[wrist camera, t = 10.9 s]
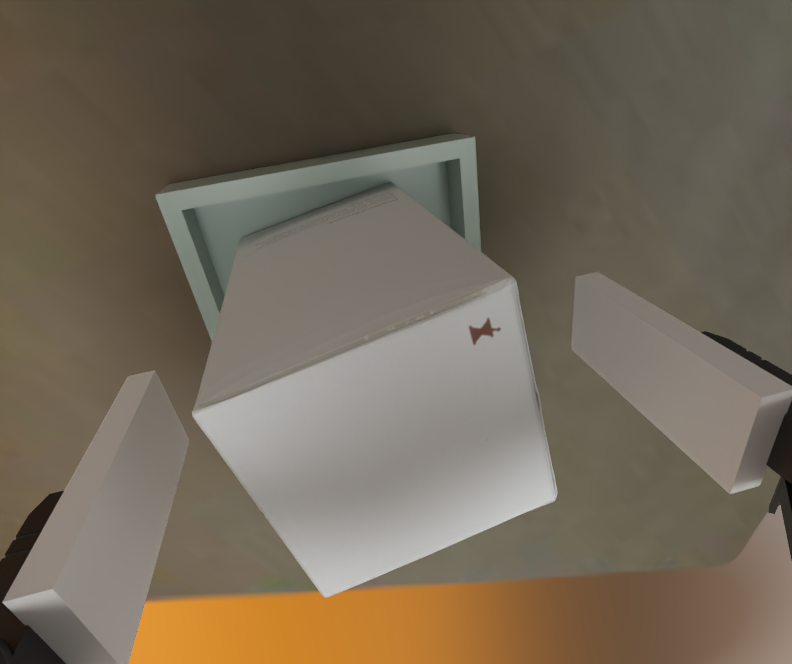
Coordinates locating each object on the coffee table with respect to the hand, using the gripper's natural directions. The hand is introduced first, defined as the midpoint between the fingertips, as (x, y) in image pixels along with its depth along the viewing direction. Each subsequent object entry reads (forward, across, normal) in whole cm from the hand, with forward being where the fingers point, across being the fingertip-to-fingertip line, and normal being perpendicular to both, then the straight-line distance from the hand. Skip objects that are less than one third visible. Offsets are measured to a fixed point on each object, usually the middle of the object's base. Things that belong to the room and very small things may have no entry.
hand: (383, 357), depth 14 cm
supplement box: (+8, 0, 0) cm, 9 cm away
